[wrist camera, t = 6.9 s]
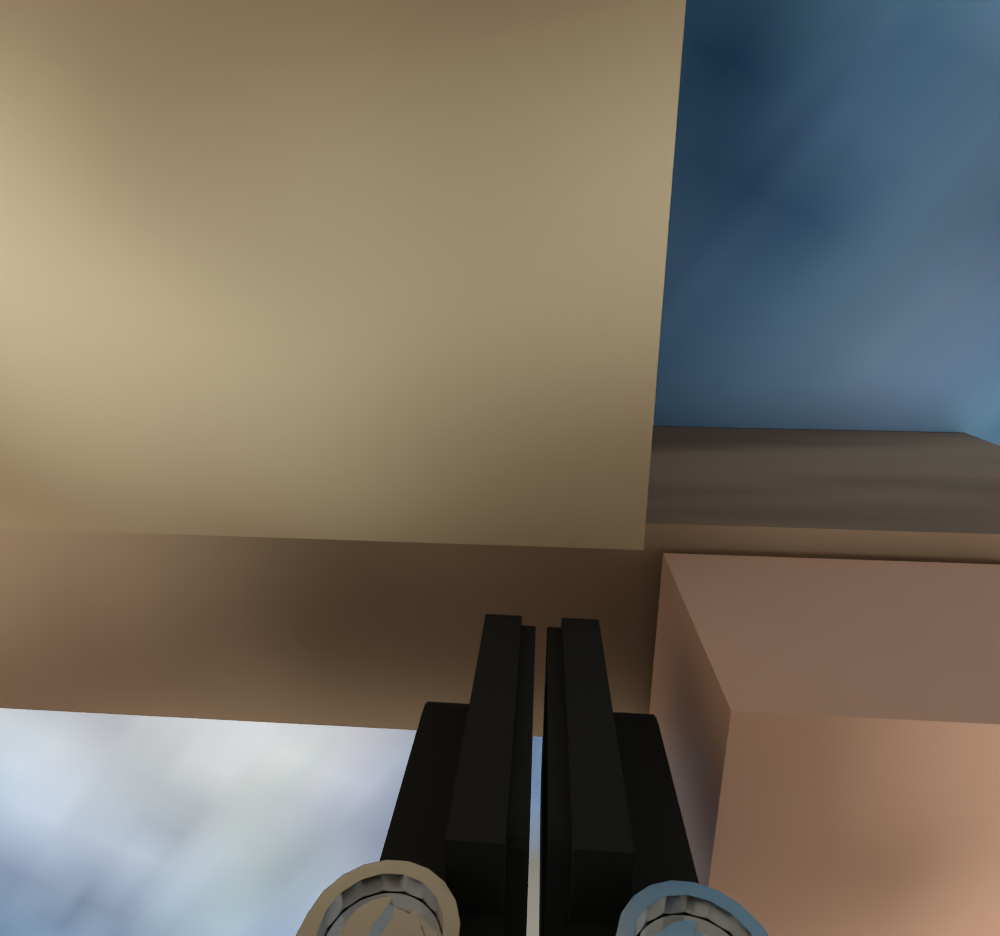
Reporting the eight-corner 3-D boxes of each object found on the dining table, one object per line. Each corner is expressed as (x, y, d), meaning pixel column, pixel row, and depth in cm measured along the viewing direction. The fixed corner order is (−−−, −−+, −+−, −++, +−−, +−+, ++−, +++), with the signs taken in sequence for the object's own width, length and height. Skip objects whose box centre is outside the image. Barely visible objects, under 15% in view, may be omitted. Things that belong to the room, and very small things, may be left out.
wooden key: (663, 553, 10) (731, 711, 7) (1045, 565, 10) (1352, 742, 6) (646, 735, 11) (698, 962, 8) (992, 753, 11) (1229, 1002, 7)
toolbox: (-171, -296, 14) (-994, -956, 7) (1142, -369, 13) (2082, -1390, 5) (21, 547, 20) (-297, 709, 13) (931, 579, 18) (1205, 792, 11)
